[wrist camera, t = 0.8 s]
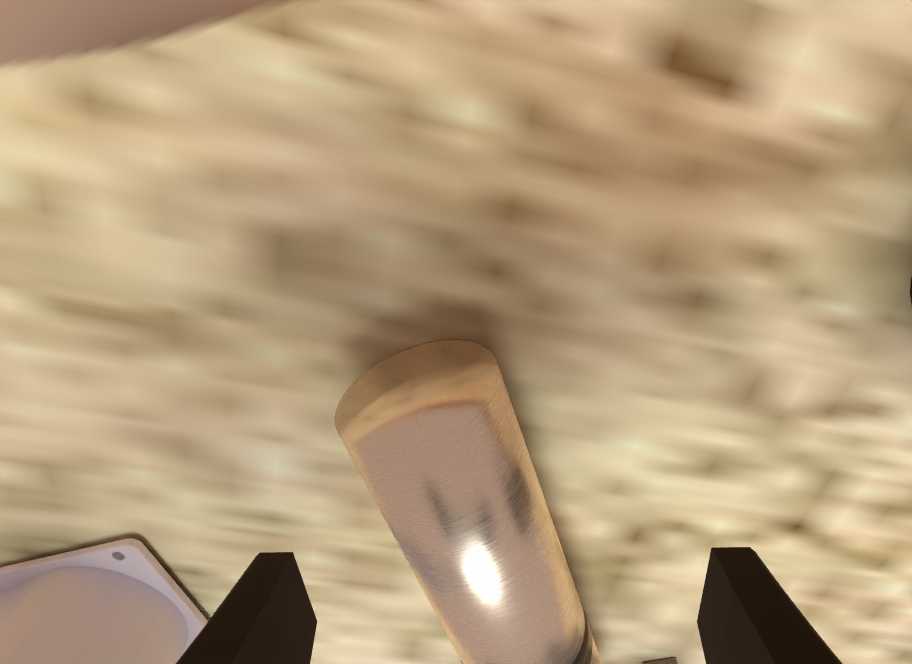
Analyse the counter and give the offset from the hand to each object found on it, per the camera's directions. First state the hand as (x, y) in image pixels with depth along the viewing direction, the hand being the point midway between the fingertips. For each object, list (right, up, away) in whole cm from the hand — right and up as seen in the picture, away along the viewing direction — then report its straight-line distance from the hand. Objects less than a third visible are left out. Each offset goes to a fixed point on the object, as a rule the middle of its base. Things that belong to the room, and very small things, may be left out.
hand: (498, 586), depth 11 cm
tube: (+1, -3, +13) cm, 14 cm away
